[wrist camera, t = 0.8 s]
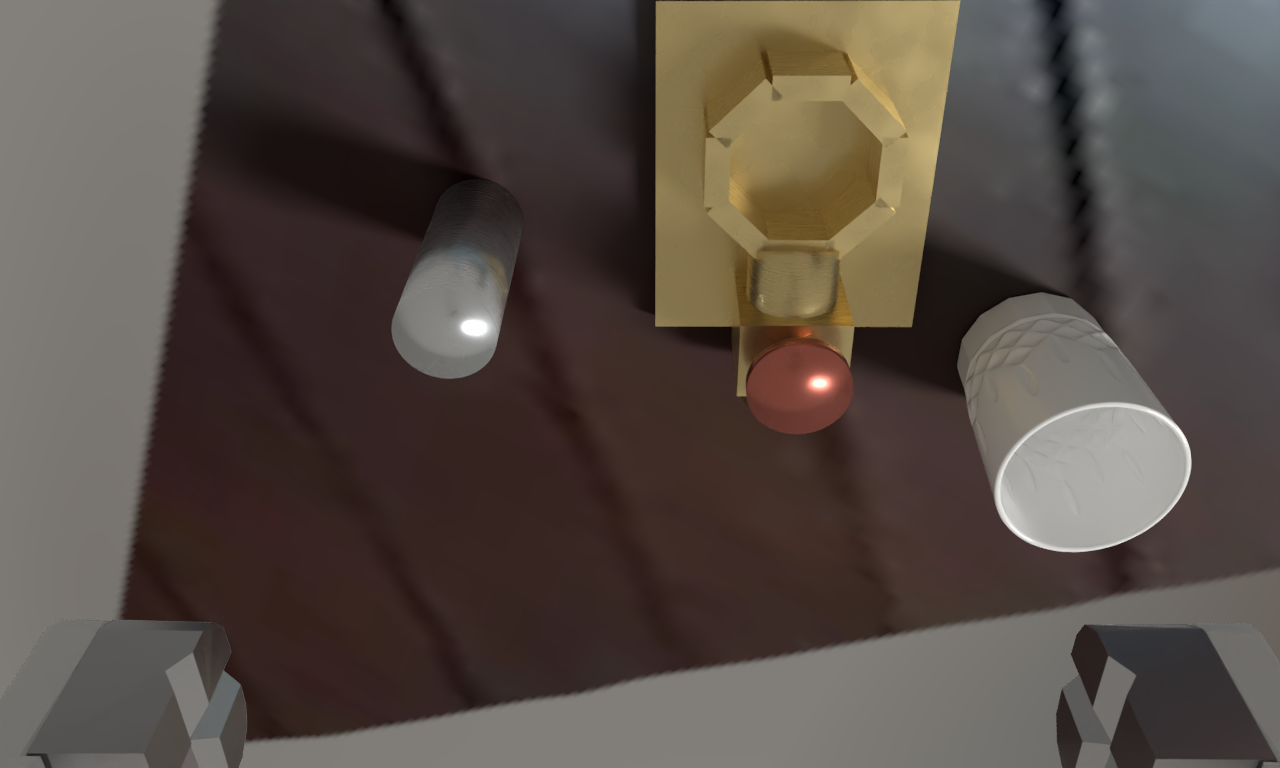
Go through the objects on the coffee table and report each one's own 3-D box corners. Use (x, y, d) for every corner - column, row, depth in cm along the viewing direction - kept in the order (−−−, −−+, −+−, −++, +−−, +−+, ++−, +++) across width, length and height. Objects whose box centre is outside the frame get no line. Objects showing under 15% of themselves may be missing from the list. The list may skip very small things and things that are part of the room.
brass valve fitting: (655, -6, 46) (655, 56, 39) (954, -7, 46) (1004, 55, 39) (655, 359, 55) (654, 457, 49) (901, 360, 55) (933, 459, 49)
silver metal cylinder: (430, 178, 50) (385, 288, 42) (520, 178, 50) (492, 288, 42) (439, 258, 53) (398, 378, 44) (526, 259, 53) (500, 378, 44)
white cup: (1063, 249, 52) (1140, 368, 44) (1138, 363, 55) (1223, 494, 47) (913, 339, 55) (959, 467, 46) (993, 442, 58) (1049, 580, 50)
